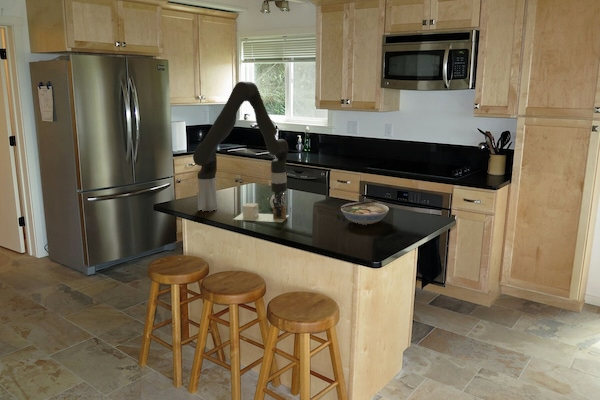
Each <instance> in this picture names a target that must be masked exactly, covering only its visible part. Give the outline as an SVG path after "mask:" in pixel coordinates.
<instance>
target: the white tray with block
mask: <svg viewBox="0 0 600 400" xmlns="http://www.w3.org/2000/svg"><path fill="white" fill-rule="evenodd" d="M277 207H278V206H277ZM289 216H290V214H287V205H285V206H281V217H277V216H276V209H274V206H273V209H272V213H259V216H257V217H256V218H255V219H253V218H243V212H241V213H240V214H238V215H237V216H236V217H234V218H232V220H236V221H253V222H266V223H267V222H268V223H269V222H271V223H272V222H273V223H283V222H284V221H285V220H286V219H287V218H289Z"/></svg>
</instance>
